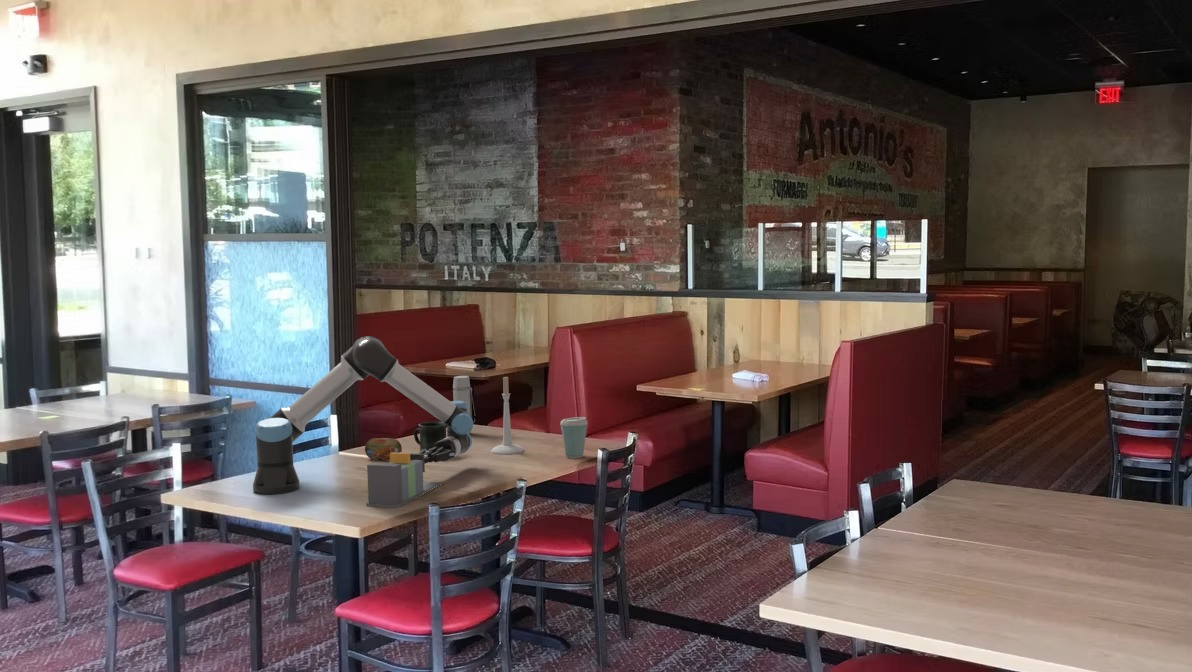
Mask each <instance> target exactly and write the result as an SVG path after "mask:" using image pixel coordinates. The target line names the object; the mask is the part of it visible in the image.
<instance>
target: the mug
mask: <svg viewBox="0 0 1192 672" xmlns="http://www.w3.org/2000/svg"><path fill="white" fill-rule="evenodd" d="M418 426H419V427H418V428H415V429H414V431H413V438H414V441H415V442H416V444H417V445H418V446H419V448H420V451H421V449H426V451H428V450H429V449H431V448H433V446H434V445H435V443H436V442H438V441H440V440H442V439H444V438H447V425H446V424H444V423H443V422H442V421H426V422H425V421H424V422H420V423H419V424H418ZM418 432H419V436H418ZM420 451H419V452H420Z"/></svg>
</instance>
